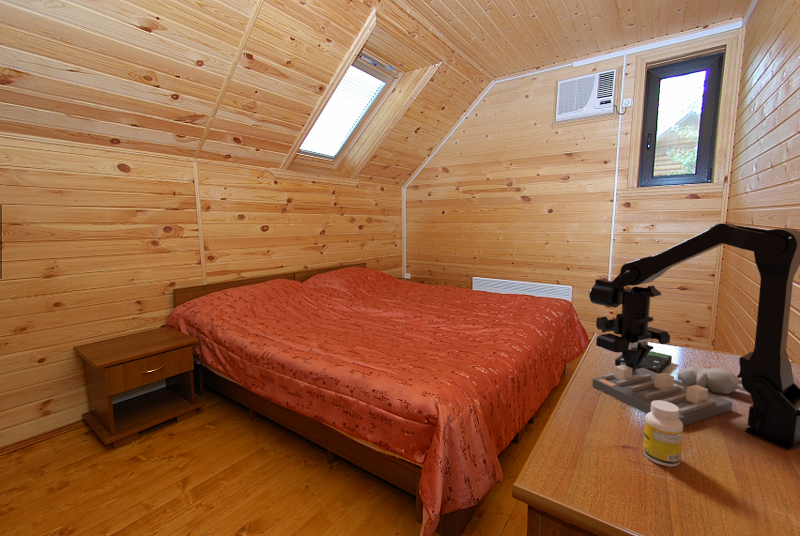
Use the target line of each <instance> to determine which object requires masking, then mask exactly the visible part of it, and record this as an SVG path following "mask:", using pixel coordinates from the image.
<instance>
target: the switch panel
mask: <svg viewBox="0 0 800 536" xmlns="http://www.w3.org/2000/svg"><path fill="white" fill-rule="evenodd" d="M614 374H615V372H612V373H606V374H602V376H599V377H595V378H592V387H593V386H594V387H593V388H595V387H596V388H595V389H597V388H598V389H597V390H599V389H600V390H599V391H601V390H602V391H601V392H603V393H605V394H607V395H609V396H611V397H613V398H615V399H617V400H619V401H621V402H623V403H625V404H627V405H629V406H632V407H634V408H635V409H637V410H639V411H641V412H643V413H645V414H647V413H649V412H651V402H652V401H655V400H661V401H666V402H670V403H672V404H674V405H676V406H677V407H678V408H679V417H678V419H680V420H681V422H682V424H683V427H684V426H687V425H690V424H693V423H697V422H700V421H702V420H706V419H709V418H713V417H715V416H719V415H722V414H725V413H728V412H731V411H732V410H733V401H731V400H729V399H727V398H724V397H720V396H718V395H715V394H712V393H710V392H708V396H707V401H704V402H700V403H697V404H694V403H692V402H689V401H687V400H686V393H687V387H689V385H687V384H685V383H683V382H682V381H680V380H676V379H674V383H673V387H670V388H667V389H663V390H661V389H658V388H656V387H654V380H655V374H658V373H656V372H653V371H650V370H648V369H645V368H639V369H636V370H635V371H634V372H632V378H629V379H625V380H618V379H616V378H614Z"/></svg>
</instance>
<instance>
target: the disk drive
mask: <svg viewBox="0 0 800 536" xmlns="http://www.w3.org/2000/svg"><path fill="white" fill-rule="evenodd" d="M672 357H673V356H672V355H669V354H665V353H660V352H656V351H652V350H651V351H650V352H649V353H648V354H647V355H646V357H645V358H644V359H643V360H642V362H641V363H640V364H639V366H638V367H637V369H639V368H645V369H648V370H650V371H653V372H656V373H658V374H660V373H663V372H664V371H665V369H666V368H668V367H669V366H670V365H671V363H672ZM614 361H615V362H614V366H615V365H616V366H620V365H626V363H625V360H624V357H623V355H622V354H621V355H619V356H618V357H616V358H615V360H614Z"/></svg>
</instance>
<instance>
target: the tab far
mask: <svg viewBox="0 0 800 536" xmlns="http://www.w3.org/2000/svg"><path fill="white" fill-rule="evenodd" d="M632 369H633V368H631V367H628V366H626V365H620V366H615V365H614V373H615V374H614V378H616V379H618V380H625V379H629V378H632Z"/></svg>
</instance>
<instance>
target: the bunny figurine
mask: <svg viewBox="0 0 800 536" xmlns="http://www.w3.org/2000/svg"><path fill="white" fill-rule="evenodd" d="M741 379H742V378H737V375H735V374H734V373H733V372H732V371H731V370H730V369H727V368H723V367H710V368H704V367H703V368H699V367H697V366H687V367H686V368H684V369H679V371H678V372H677V381H680V382H682V383H684V384H687V385H689V386H693V385H698V386H701V387H703V388H706V389H708V391H711V392H712V393H717V394H723V395H729V394H730V393H733V392H734V391H737V390H740V391H742V392H745V393H748V392H747V391H746V390H745V389H744V388H743V386H742V383H741Z"/></svg>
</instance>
